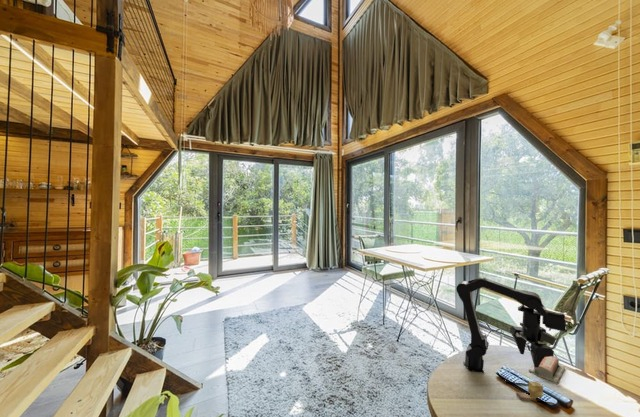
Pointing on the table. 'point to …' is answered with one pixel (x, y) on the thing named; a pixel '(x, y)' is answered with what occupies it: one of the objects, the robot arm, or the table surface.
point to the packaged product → (549, 369)
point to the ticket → (524, 375)
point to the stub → (532, 391)
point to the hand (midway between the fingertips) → (528, 360)
